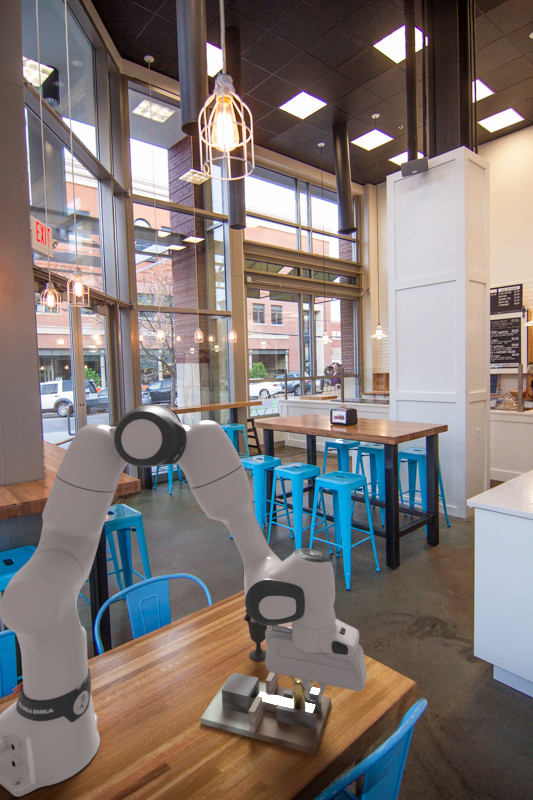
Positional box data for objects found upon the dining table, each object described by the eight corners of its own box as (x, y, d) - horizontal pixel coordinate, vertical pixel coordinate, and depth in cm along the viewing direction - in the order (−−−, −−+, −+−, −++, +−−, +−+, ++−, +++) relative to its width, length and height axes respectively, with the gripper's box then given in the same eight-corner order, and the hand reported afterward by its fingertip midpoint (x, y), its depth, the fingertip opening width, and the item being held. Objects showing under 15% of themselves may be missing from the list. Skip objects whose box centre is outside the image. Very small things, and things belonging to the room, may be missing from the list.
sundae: (276, 652, 113) (275, 595, 112) (262, 666, 107) (260, 606, 107) (255, 644, 116) (253, 589, 116) (240, 658, 111) (238, 600, 110)
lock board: (331, 703, 94) (330, 679, 94) (315, 754, 81) (314, 727, 81) (229, 680, 103) (229, 658, 102) (200, 723, 89) (199, 698, 89)
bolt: (315, 712, 89) (314, 680, 89) (312, 722, 87) (311, 688, 87) (260, 699, 94) (259, 668, 93) (256, 708, 91) (255, 676, 91)
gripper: (259, 631, 88) (261, 698, 89) (362, 650, 81) (363, 723, 81) (270, 615, 94) (271, 678, 94) (366, 632, 87) (368, 700, 87)
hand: (315, 699), depth 88 cm, fingers closed
